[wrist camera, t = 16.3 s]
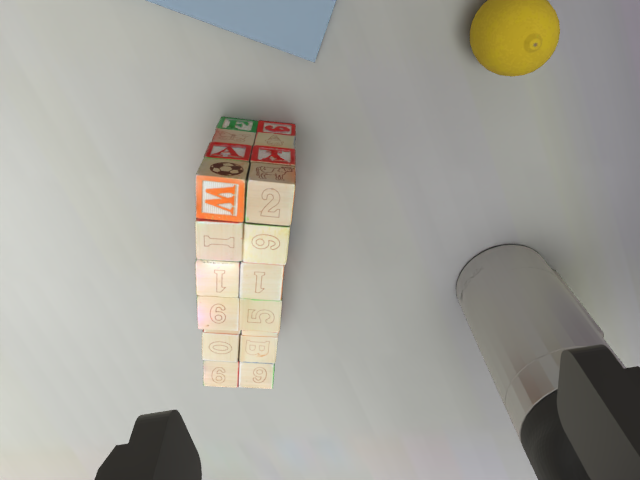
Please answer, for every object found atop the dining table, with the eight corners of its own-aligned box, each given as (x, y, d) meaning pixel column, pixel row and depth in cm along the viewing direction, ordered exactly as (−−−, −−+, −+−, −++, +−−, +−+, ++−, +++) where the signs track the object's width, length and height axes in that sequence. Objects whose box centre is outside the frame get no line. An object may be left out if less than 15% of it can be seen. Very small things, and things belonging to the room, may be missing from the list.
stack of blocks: (275, 322, 54) (271, 418, 43) (214, 318, 53) (194, 415, 42) (296, 121, 43) (296, 184, 32) (219, 113, 42) (194, 175, 32)
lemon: (445, 49, 40) (476, 73, 33) (478, -27, 38) (519, -18, 31) (507, 71, 41) (550, 99, 34) (544, -1, 39) (597, 13, 32)
